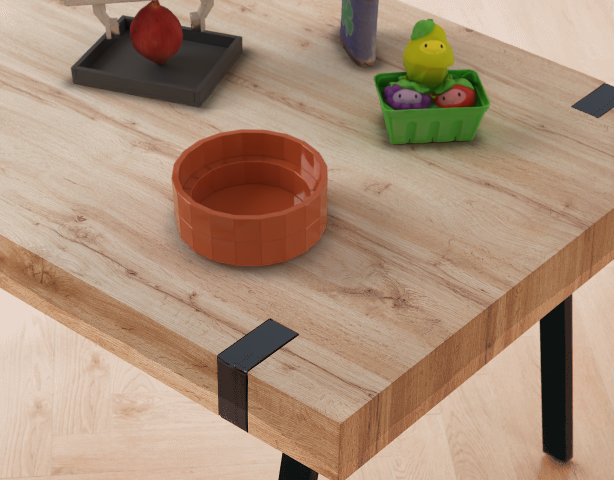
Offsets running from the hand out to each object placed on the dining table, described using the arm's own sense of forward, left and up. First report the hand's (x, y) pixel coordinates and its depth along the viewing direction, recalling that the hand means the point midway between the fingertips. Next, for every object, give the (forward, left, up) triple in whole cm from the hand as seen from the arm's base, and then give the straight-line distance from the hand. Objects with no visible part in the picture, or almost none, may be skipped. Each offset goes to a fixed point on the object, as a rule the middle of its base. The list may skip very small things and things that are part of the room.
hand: (156, 33), depth 121 cm
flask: (+20, +12, -5) cm, 24 cm away
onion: (0, 0, -4) cm, 4 cm away
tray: (0, 0, -4) cm, 4 cm away
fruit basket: (+32, -2, -5) cm, 32 cm away
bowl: (+20, -24, -4) cm, 31 cm away
